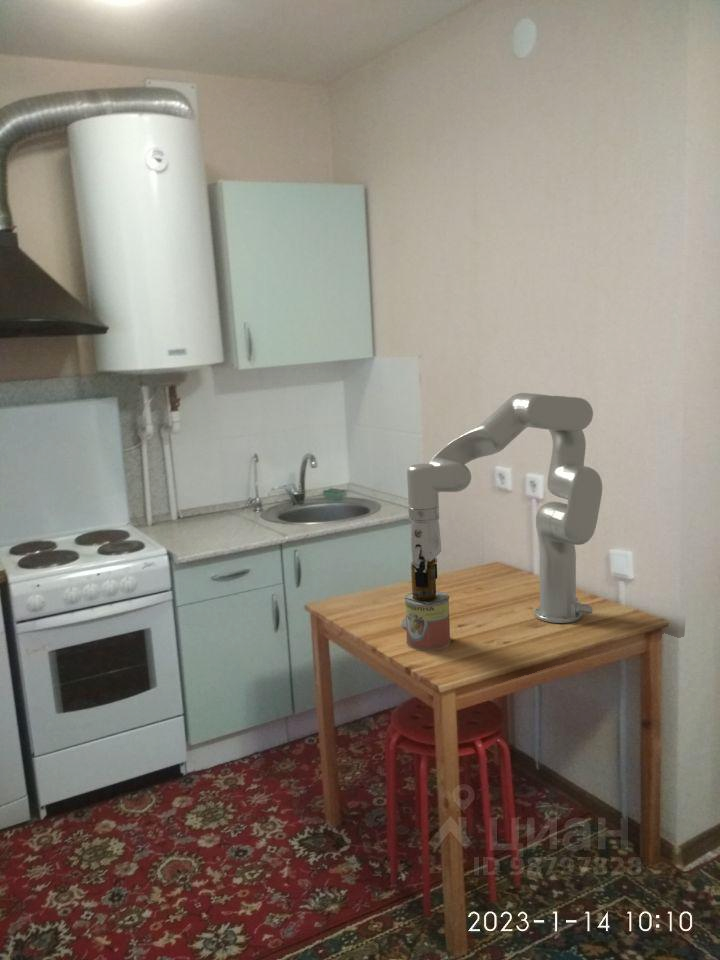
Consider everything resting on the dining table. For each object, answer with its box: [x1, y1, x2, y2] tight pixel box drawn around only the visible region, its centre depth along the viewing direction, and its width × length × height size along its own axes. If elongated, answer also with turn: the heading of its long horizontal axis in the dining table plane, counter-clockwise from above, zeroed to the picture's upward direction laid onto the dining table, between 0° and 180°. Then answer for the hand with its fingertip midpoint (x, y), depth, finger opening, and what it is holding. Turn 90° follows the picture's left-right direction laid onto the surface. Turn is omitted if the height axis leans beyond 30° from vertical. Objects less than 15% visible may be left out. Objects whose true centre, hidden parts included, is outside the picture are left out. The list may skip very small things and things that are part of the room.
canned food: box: [404, 590, 452, 652], centre depth 202 cm, size 11×11×12 cm
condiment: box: [405, 557, 448, 604], centre depth 199 cm, size 7×8×12 cm
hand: (426, 582), depth 200 cm, fingers open, 6 cm apart
